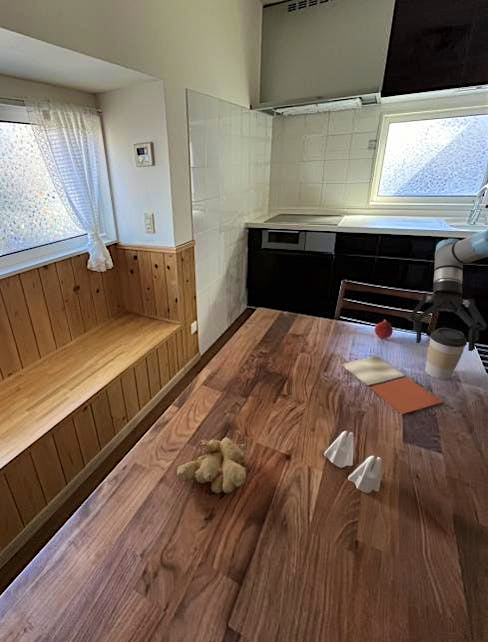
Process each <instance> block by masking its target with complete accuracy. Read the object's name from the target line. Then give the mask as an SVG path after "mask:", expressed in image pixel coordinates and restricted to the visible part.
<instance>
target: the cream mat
mask: <svg viewBox="0 0 488 642" xmlns="http://www.w3.org/2000/svg"><path fill="white" fill-rule="evenodd" d="M341 366H342V367H343V368H344V369H346V370H347V371H348V372H350V373H351V374H352V376H354V377H356V378H357V379H358V380H359V381H360V382H361V383H363V384H364V385H366V386H367V387H371V386H375V385H379V384H383V383H387V382H390V381H394V380H398V379H402V378H406V377H405V374H403V373H402V372H400V371H399V370H397V369H396V368H394V367H393V366H391V365H390V364H389V363H387V362H386V361H384V360H383V359H381V358H380V357H378V356H377V355H374V356H370V357H366V358H362V359H358V360H353V361H350V362H344V363H341Z"/></svg>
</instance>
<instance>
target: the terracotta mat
mask: <svg viewBox="0 0 488 642" xmlns="http://www.w3.org/2000/svg"><path fill="white" fill-rule="evenodd" d="M369 388H370V390H372V391H373V392H374V393H375V394H376V395H378V396H379V397H380V398H382V399H383V400H384V401H385V402H386V403H388V404H389V405H390V406H391V407H392V408H394V409H395V410H397V412H399V413H400V414H401V415H407V414H409V413H413V412H416V411H421V410H423V409H427V408H430V407H435V406H438V405H441V404H444V401H443V400H442V399H440V398H439V397H437V396H436V395H434V394H432V393H431V392H429V391H428V390H427V389H425V388H424V387H422V386H421V385H419V384H418V383H417V382H415V381H413V380H412V379H411V378H409V377H403V378H399V379H395V380H391V381H387V382H384V383H380V384H376V385H372V386H369Z"/></svg>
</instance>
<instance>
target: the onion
mask: <svg viewBox="0 0 488 642" xmlns="http://www.w3.org/2000/svg"><path fill="white" fill-rule="evenodd" d="M393 332H394V329H393V327H392V325H391V323H389V322H388V321H387V320H386V319H383V321H381V322H378V323H377V324H376V325H375V327H374V333H375V335H376V336H377V337H378V338H379V339H381V340H385V339H388V338H390V337H391V336H392V335H393Z"/></svg>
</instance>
